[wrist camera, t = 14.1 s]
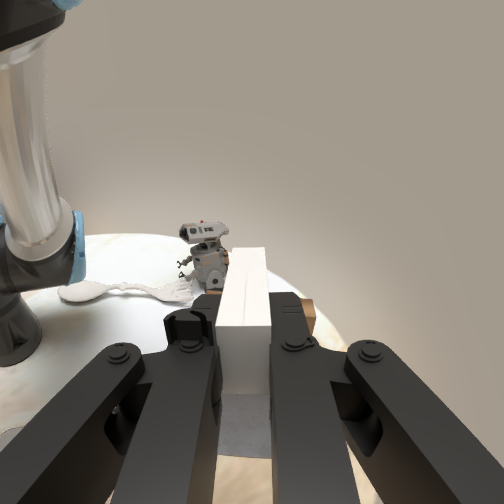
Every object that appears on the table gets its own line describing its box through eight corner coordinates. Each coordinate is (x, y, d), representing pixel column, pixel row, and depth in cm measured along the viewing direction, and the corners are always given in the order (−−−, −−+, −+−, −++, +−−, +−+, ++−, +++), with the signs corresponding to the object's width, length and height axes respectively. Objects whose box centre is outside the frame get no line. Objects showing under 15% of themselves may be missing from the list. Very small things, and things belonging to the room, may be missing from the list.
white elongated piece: (194, 310, 57) (193, 296, 55) (54, 306, 51) (50, 292, 49) (194, 287, 65) (193, 274, 64) (67, 285, 59) (65, 273, 58)
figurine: (175, 278, 68) (173, 218, 62) (221, 274, 71) (223, 215, 66) (180, 298, 60) (177, 231, 54) (231, 293, 64) (234, 228, 58)
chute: (338, 457, 28) (350, 439, 26) (154, 442, 28) (146, 423, 26) (324, 372, 42) (331, 350, 40) (181, 360, 43) (178, 337, 41)
